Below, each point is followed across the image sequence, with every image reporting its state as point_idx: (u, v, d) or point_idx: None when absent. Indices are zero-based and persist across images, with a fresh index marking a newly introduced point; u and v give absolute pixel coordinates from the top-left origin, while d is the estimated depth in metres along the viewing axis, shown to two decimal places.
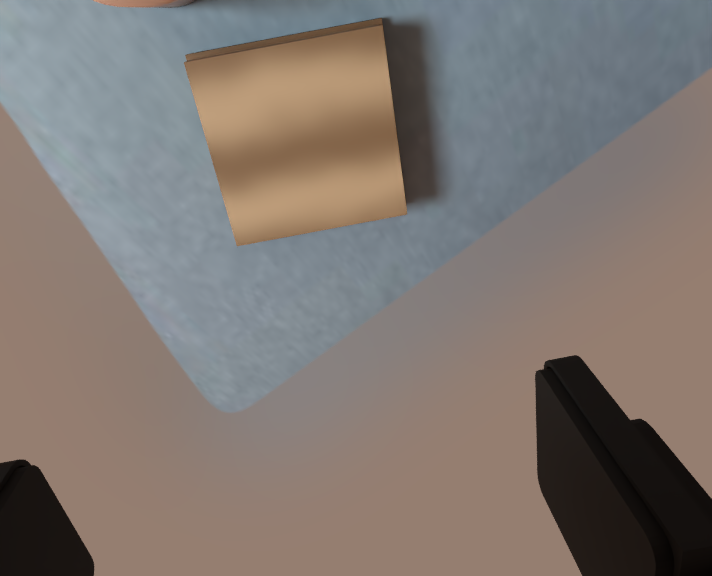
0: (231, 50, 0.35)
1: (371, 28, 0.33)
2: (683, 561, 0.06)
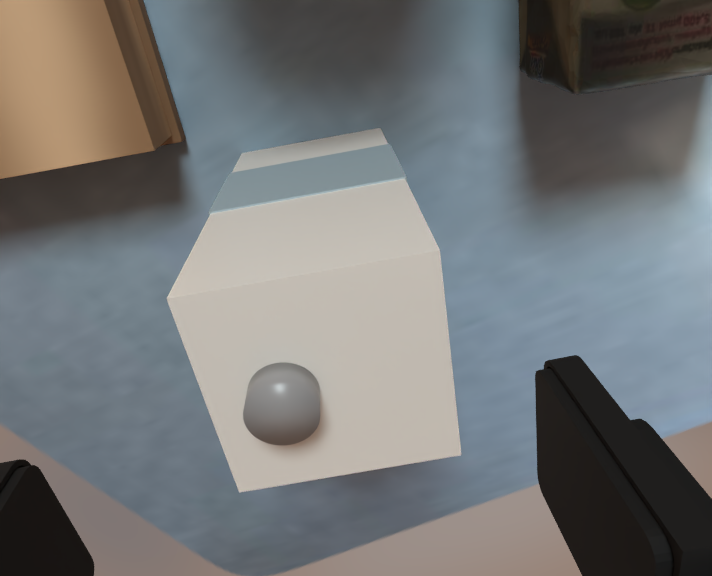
0: None
1: (145, 130, 0.18)
2: (683, 561, 0.06)
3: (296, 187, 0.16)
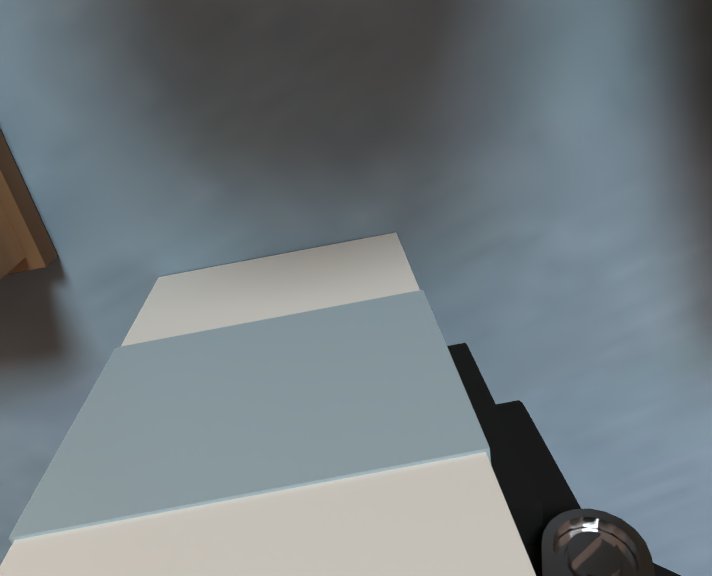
0: None
1: None
2: None
3: (230, 445, 0.07)
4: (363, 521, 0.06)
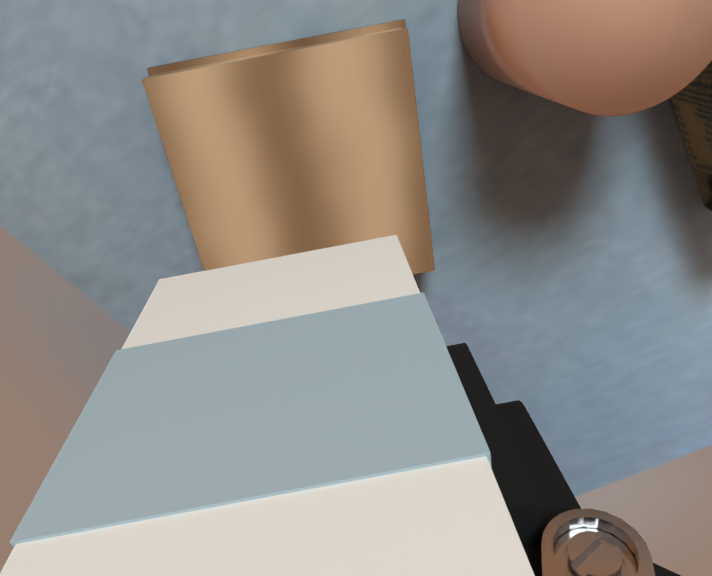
0: None
1: (432, 259, 0.30)
2: None
3: (230, 448, 0.07)
4: (364, 526, 0.06)
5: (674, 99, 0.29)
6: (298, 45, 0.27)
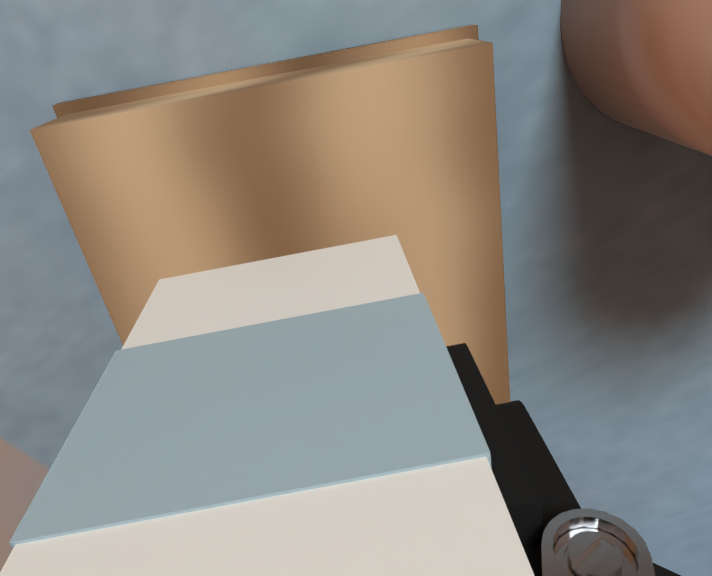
0: None
1: (507, 394, 0.19)
2: None
3: (230, 449, 0.07)
4: (364, 526, 0.06)
5: None
6: (301, 67, 0.16)
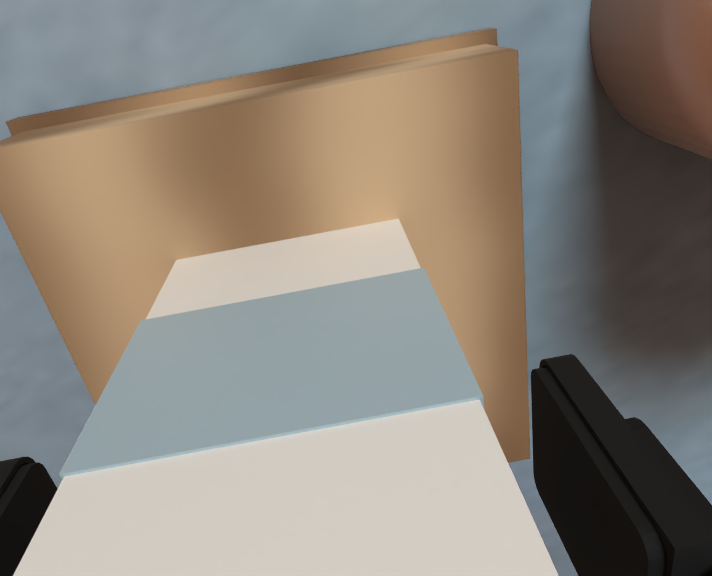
0: None
1: (527, 442, 0.17)
2: (675, 558, 0.06)
3: (251, 397, 0.08)
4: (372, 455, 0.07)
5: None
6: (293, 77, 0.14)
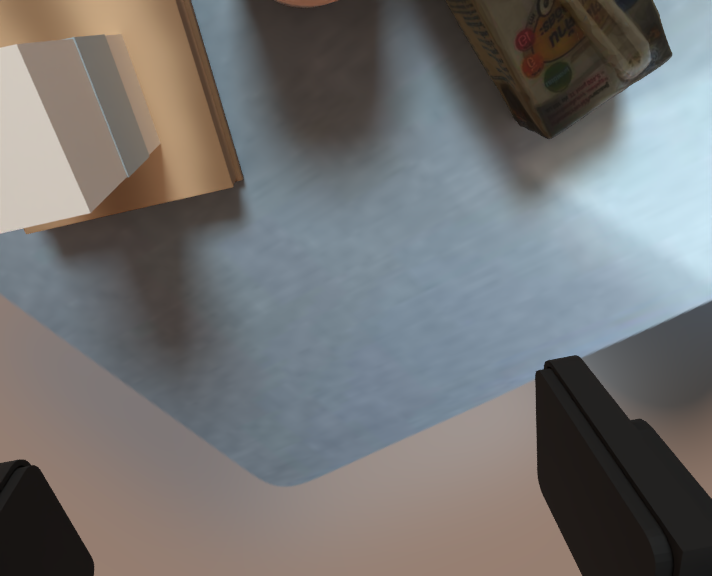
0: (186, 6, 0.29)
1: (228, 176, 0.31)
2: (683, 561, 0.06)
3: None
4: None
5: None
6: None
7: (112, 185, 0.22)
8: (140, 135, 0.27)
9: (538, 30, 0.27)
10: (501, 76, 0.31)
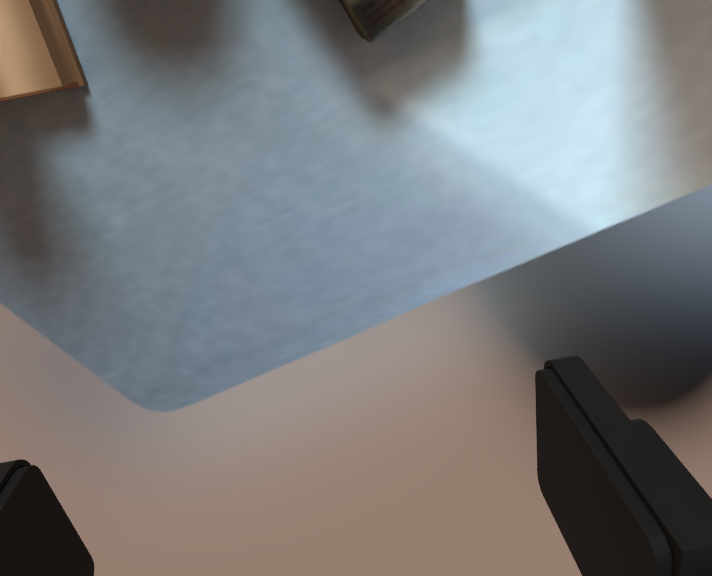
0: None
1: (56, 74, 0.32)
2: (682, 561, 0.06)
3: None
4: None
5: None
6: None
7: None
8: None
9: None
10: None
